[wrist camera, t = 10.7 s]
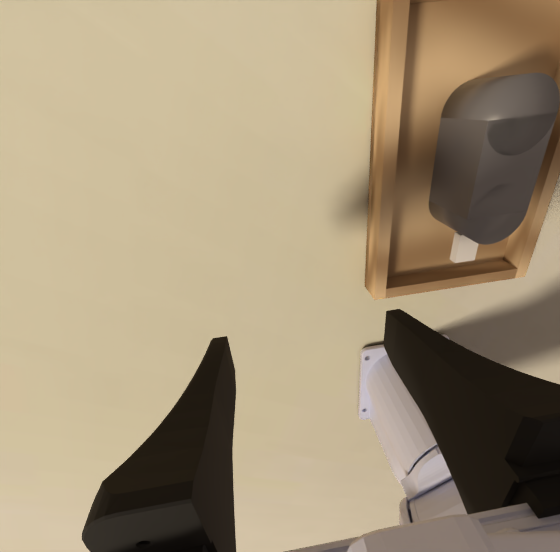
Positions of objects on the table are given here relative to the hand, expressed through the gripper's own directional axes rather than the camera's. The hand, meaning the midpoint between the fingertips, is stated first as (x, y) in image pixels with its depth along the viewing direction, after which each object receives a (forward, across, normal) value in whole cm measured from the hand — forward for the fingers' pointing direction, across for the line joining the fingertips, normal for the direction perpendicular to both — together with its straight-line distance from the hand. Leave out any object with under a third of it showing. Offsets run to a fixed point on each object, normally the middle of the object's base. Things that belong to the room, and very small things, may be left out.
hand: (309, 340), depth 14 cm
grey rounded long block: (+9, -12, -5) cm, 16 cm away
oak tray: (+9, -12, -5) cm, 16 cm away
